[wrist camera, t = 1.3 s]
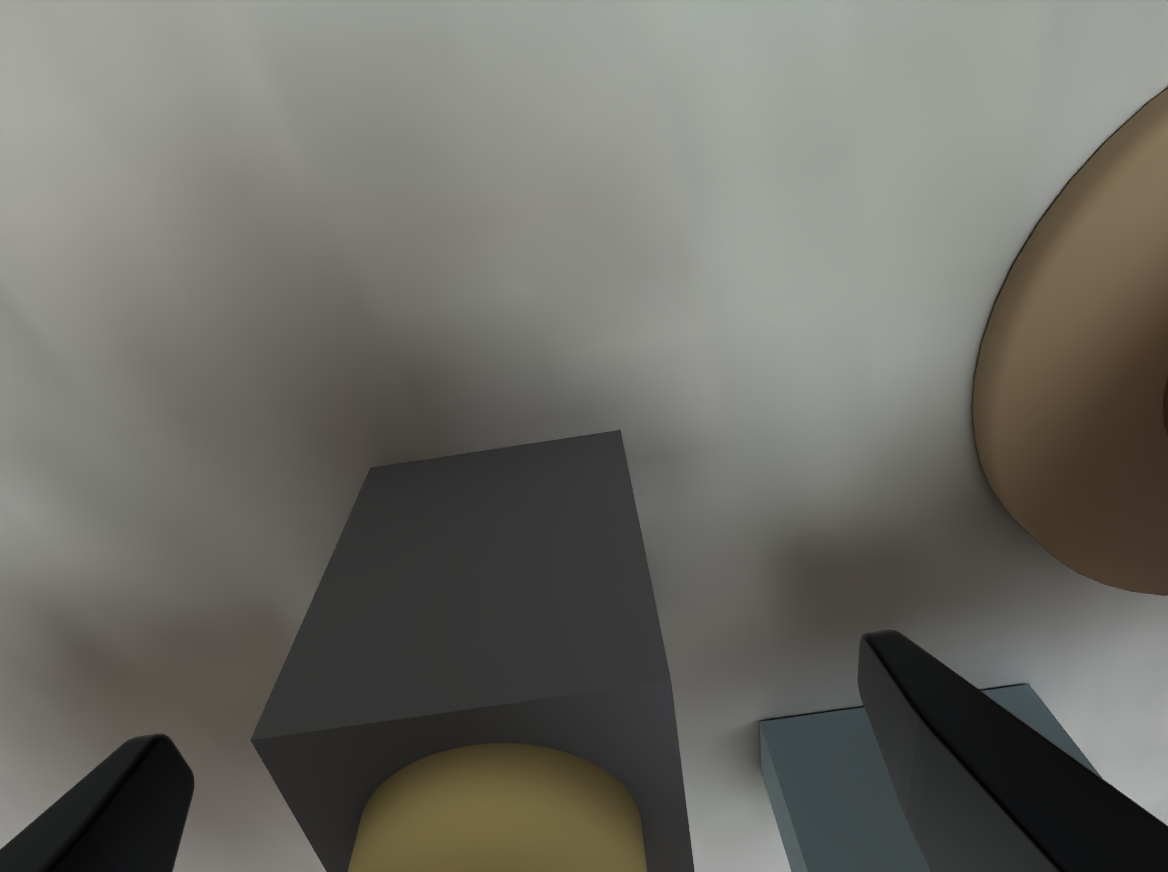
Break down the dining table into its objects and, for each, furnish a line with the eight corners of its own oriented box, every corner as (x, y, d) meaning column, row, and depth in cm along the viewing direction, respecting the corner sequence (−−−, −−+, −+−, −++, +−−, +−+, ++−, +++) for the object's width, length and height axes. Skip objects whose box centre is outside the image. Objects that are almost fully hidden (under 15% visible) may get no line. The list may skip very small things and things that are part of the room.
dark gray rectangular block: (620, 429, 11) (695, 802, 5) (646, 617, 13) (721, 1035, 7) (371, 467, 11) (192, 871, 5) (434, 648, 13) (349, 1082, 7)
